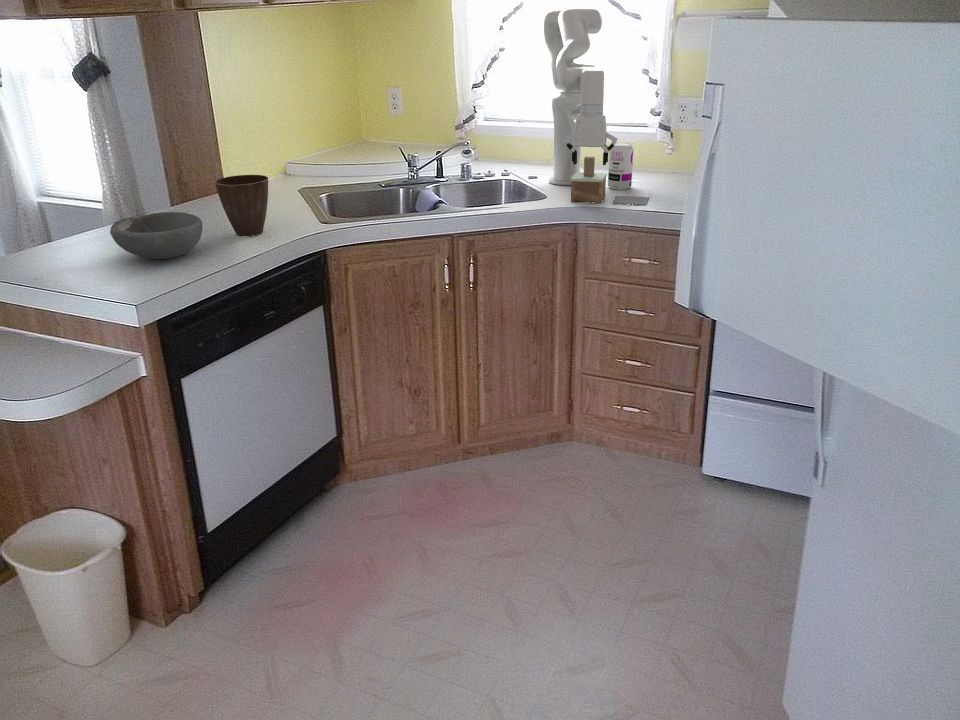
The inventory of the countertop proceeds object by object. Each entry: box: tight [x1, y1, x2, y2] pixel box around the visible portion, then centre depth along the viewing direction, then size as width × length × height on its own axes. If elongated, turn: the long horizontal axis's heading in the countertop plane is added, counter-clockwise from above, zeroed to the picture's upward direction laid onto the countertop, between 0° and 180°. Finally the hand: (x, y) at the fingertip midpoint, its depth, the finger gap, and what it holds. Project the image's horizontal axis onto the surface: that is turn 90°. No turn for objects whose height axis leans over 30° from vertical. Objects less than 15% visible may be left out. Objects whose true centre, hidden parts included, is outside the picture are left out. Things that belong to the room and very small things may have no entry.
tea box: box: [570, 177, 607, 204], centre depth 270 cm, size 10×10×7 cm
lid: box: [571, 156, 608, 182], centre depth 268 cm, size 10×10×8 cm
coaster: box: [611, 195, 650, 206], centre depth 268 cm, size 11×11×1 cm
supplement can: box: [607, 142, 634, 191], centre depth 284 cm, size 8×8×15 cm
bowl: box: [109, 211, 203, 260], centre depth 219 cm, size 23×22×10 cm
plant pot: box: [214, 174, 269, 237], centre depth 237 cm, size 15×15×16 cm
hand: (589, 164), depth 267 cm, fingers open, 9 cm apart
